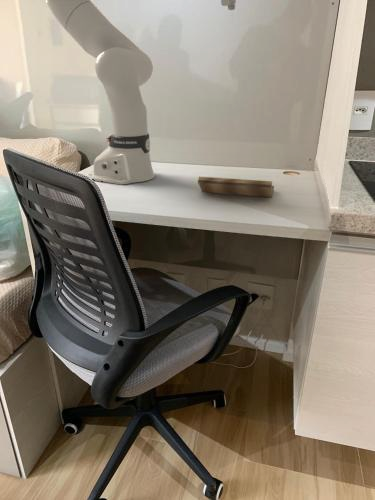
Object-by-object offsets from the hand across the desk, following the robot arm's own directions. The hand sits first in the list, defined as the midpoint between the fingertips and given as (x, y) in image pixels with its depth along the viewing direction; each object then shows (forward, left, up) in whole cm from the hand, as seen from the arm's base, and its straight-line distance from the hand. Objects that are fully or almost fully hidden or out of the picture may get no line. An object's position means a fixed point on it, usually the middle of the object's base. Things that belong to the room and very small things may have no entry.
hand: (228, 7), depth 105 cm
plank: (+6, -15, -45) cm, 48 cm away
